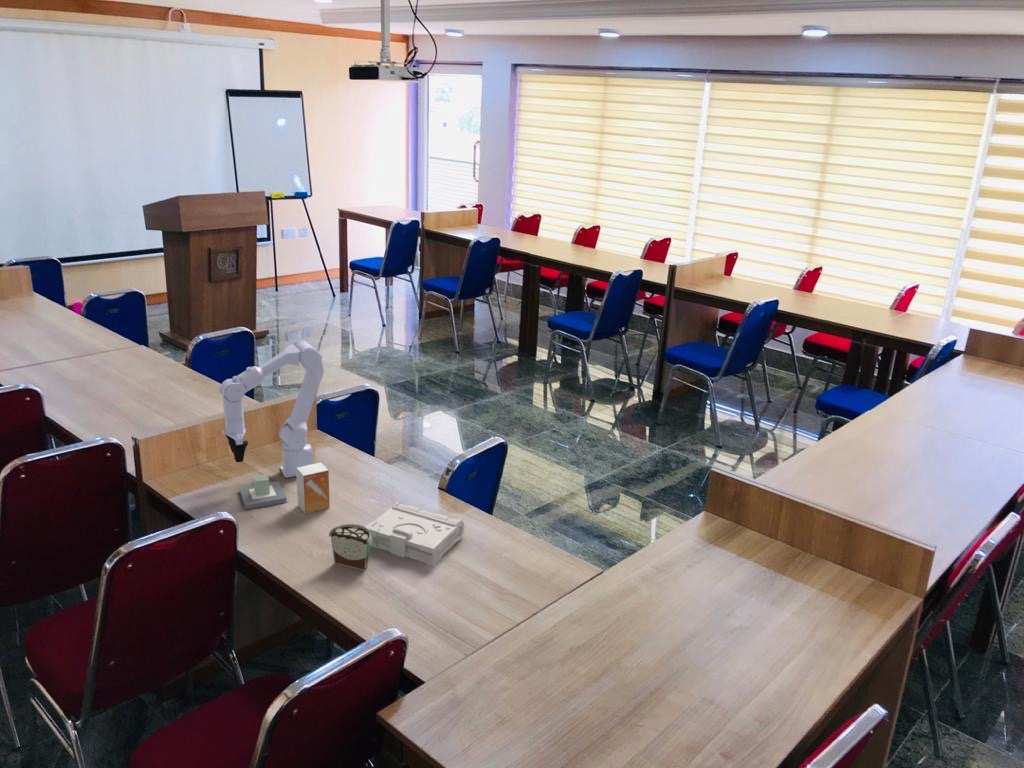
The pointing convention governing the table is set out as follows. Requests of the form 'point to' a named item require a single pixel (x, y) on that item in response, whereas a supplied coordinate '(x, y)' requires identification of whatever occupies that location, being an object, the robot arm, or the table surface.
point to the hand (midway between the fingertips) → (237, 456)
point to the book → (415, 533)
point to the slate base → (262, 496)
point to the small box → (313, 487)
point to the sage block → (261, 485)
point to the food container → (351, 545)
